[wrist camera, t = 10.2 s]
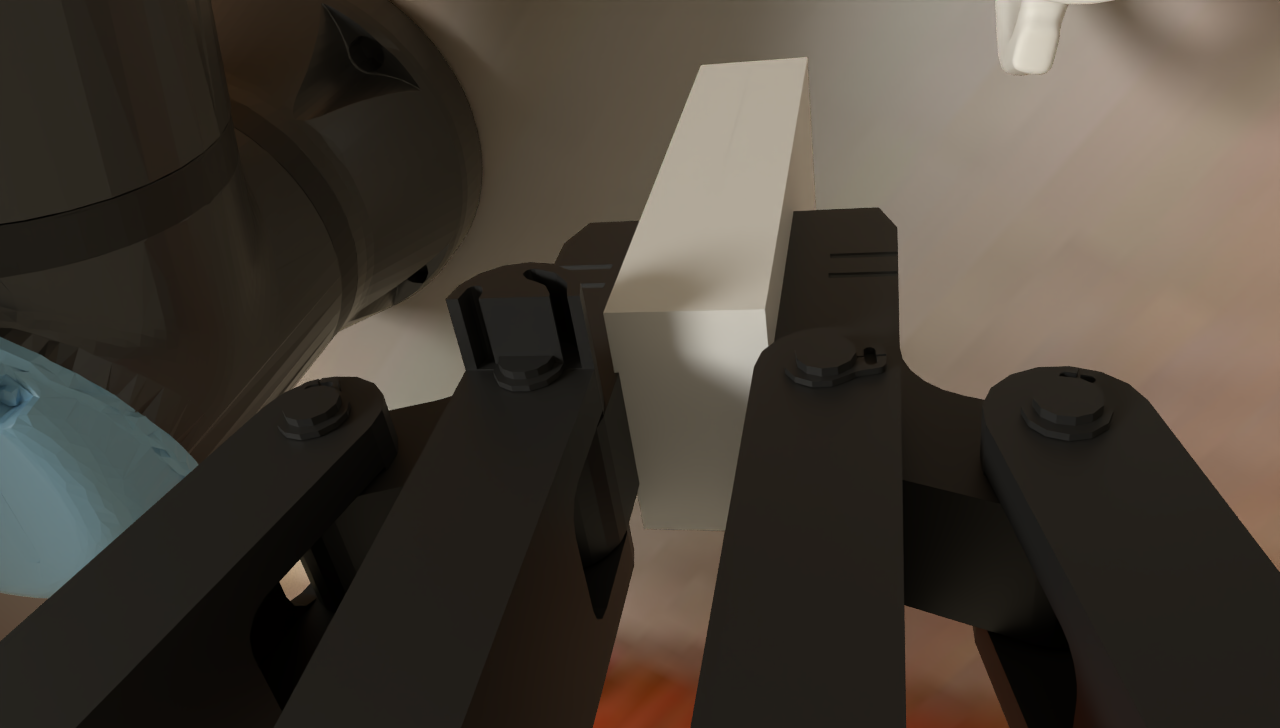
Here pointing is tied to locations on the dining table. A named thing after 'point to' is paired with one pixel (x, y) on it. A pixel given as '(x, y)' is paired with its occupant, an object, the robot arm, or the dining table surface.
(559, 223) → the dining table surface
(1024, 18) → the mug
